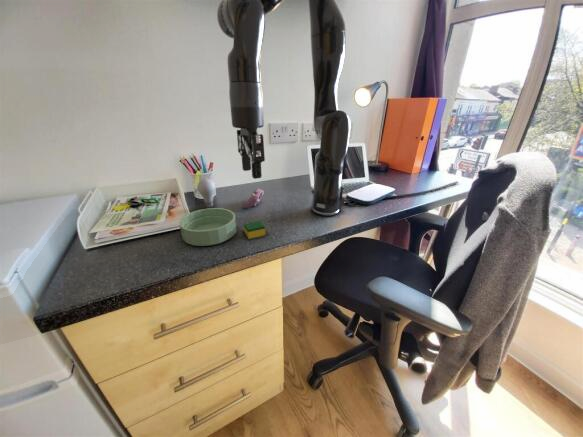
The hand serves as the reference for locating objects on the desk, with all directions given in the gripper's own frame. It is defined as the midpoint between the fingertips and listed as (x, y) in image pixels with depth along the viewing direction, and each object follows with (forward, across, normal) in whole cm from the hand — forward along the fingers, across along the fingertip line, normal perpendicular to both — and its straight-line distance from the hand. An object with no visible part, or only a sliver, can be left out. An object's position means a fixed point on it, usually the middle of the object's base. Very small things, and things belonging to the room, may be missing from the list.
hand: (251, 173), depth 62 cm
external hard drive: (+18, +10, -54) cm, 58 cm away
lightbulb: (+18, +26, +9) cm, 33 cm away
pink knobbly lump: (+18, +22, -7) cm, 29 cm away
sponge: (+18, 0, 0) cm, 18 cm away
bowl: (+18, +6, +12) cm, 23 cm away
